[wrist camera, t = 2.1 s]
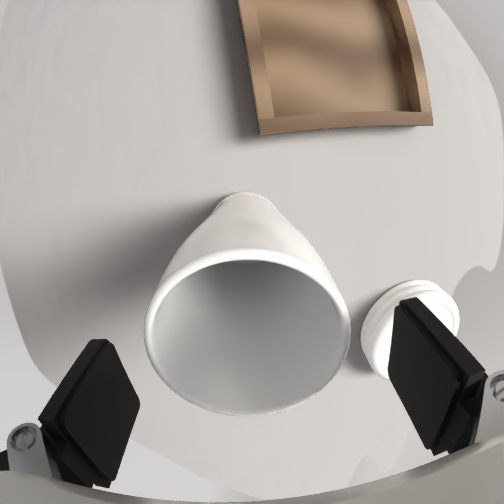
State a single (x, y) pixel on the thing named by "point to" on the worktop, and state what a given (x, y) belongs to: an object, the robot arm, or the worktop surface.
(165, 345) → the white tall cup
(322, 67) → the tray
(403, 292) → the white cup lid
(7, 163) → the worktop surface
